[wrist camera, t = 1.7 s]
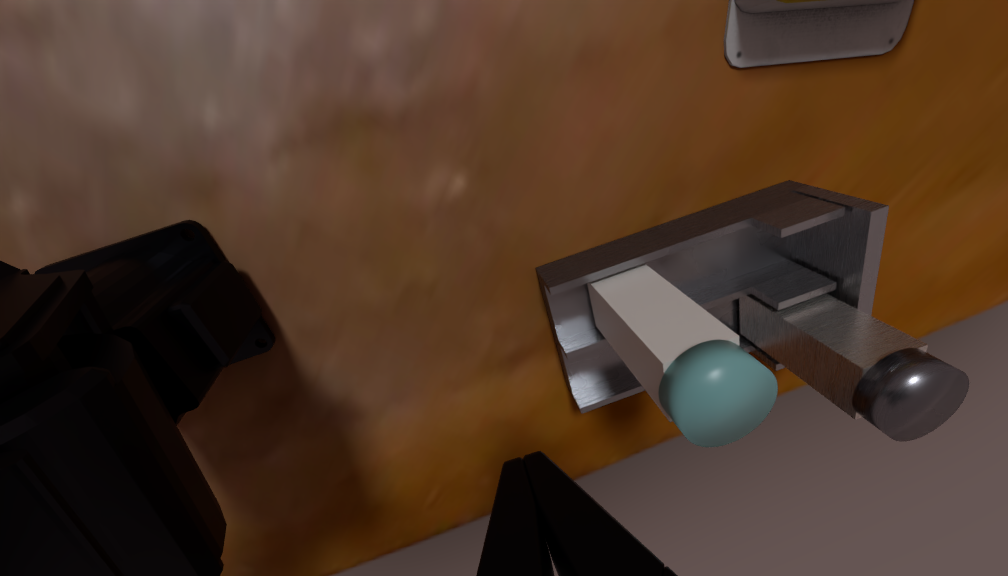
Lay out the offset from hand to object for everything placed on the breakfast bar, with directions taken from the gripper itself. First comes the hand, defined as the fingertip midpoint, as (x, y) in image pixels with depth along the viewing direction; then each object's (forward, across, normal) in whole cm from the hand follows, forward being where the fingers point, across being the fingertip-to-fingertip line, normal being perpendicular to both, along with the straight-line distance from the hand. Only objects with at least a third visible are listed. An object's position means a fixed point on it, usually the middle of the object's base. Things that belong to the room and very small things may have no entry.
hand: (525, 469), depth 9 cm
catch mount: (+13, +11, -6) cm, 18 cm away
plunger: (+11, +7, -4) cm, 14 cm away
